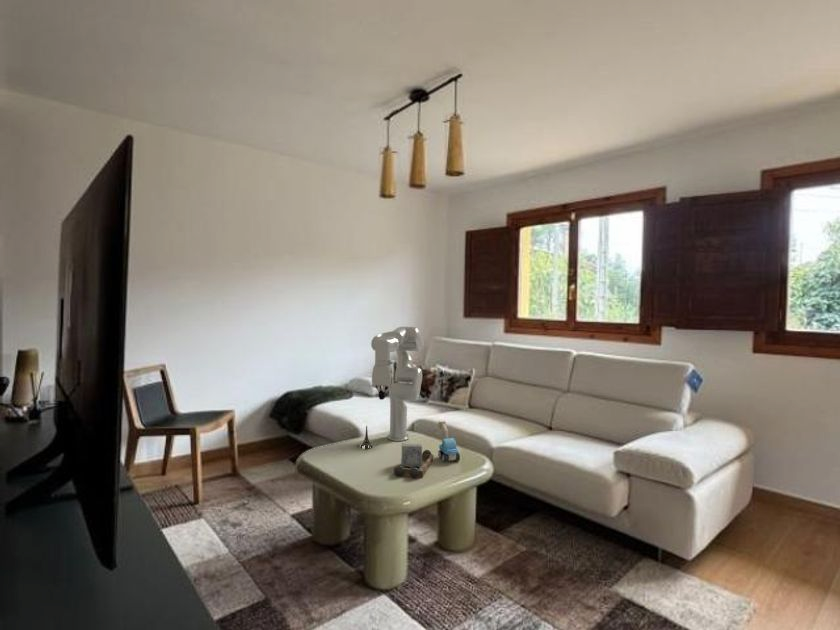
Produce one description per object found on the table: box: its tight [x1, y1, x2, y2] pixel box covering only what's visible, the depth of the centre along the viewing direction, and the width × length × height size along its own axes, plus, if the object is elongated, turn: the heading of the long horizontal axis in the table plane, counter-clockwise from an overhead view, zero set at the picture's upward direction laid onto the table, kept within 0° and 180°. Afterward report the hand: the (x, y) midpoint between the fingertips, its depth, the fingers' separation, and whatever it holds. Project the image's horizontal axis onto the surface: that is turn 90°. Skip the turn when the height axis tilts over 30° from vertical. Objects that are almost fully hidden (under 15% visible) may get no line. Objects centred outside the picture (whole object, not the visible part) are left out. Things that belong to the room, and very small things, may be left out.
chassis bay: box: [393, 449, 434, 479], centre depth 218 cm, size 26×14×4 cm, turn 166°
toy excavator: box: [437, 420, 461, 463], centre depth 231 cm, size 9×17×17 cm, turn 18°
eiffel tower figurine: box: [358, 425, 380, 451], centre depth 244 cm, size 15×10×13 cm
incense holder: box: [400, 442, 423, 469], centre depth 220 cm, size 10×8×10 cm
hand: (381, 399), depth 231 cm, fingers closed
